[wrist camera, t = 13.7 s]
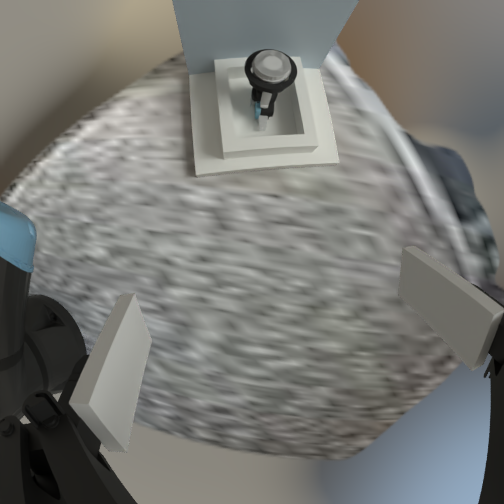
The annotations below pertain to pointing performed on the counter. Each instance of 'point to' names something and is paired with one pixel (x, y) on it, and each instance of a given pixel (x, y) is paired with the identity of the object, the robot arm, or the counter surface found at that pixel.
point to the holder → (239, 89)
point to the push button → (268, 80)
